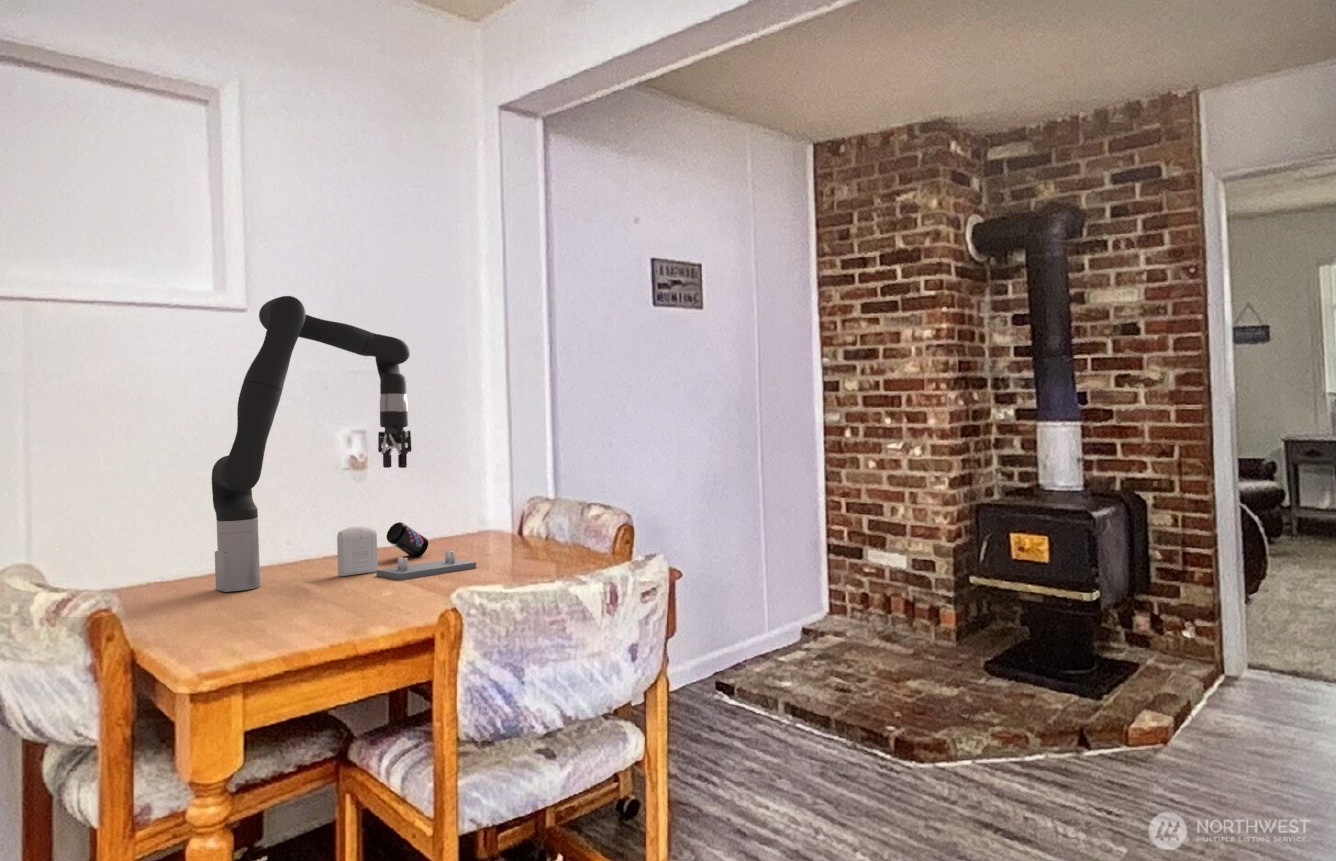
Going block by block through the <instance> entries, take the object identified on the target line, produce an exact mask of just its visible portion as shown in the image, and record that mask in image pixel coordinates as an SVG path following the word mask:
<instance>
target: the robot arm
mask: <svg viewBox="0 0 1336 861" xmlns="http://www.w3.org/2000/svg"><path fill="white" fill-rule="evenodd" d="M258 318H259V322H260V324H261V325H262V326H263V328H264V329H266V332H265V336H264V340H263V343H262V345H261V347H260V349H259V351H258V353H257V354H256V355H255V357H254V359H253V360H252V362H251V364H250V366H249V368H248V370H247V372H246V374H245V376H244V378H243V383H242V385H241V388H240V392H239V395H238V400H237V411H236V412H237V413H236V414H237V426H236V427H237V428H236V433H235V434H236V435H235V438H234V441H233V444H232V446H231V449H230V451H229V453H228V455H225V456H222V457H221V458H219V459H218V460H217V461H216V462H215V463H214V465H213V467H212V470H211V490H212V491H211V493H212V504H213V505H212V506H213V510H214V512H215V516H216V517H215V518H216V540H217V541H216V543H217V545H216V546H217V548H216V549H217V550H216V551H214V571H215V573H214V574H215V590H216V591H219V592H222V593H229V592H239V591H247V590H252V589H257V588H259V587H261V567H260V544H259V542H260V541H259V540H260V539H259V516H258V514H259V512H258V510H259V509H258V507H257V505H256V503H255V502H254V500H253V490H252V489H253V488H254V487H255V486H256V485H257V483H258V482H259V480H260V478H261V475H262V469H263V464H264V456H265V451H266V445H267V441H268V438H269V435H270V431H271V429H272V425H273V422H274V419H275V416H276V412H277V410H278V407H279V404H280V401H281V397H282V393H283V390H284V386H285V382H286V377H287V374H288V371H289V367H290V363H291V359H292V355H293V350H294V349H295V346H296V344H297V341H298V339H299V338H301V339H305V340H310V341H315V342H318V343H323V344H324V345H328V346H331V347H334V348H337V349H340V350H344V351H346V352H348V353H349V352H350V353H352V354H356V355H359V356H363V357H375V364H376V368H377V373H378V375H379V379H380V382H379V387H380V389H379V391H380V393H379V394H380V396H379V425H380V426H379V427H380V428H384V431H378V435H377V436H378V437H377V438H378V440H377V441H378V442H377V444H378V447H377V448H378V453H381V455H382V467H383V468H385V469H386V468H387V469H388V468H391V467H392V452H393V449H396V451H397V453H398V454H397V457H398V458H397V465H398V468H399V469H405V468H407V467H408V466H407V465H408V461H407V459H408V457H407V455H408V454H409V452H410V453H411V452H412V437H411V436H412V435H411V434H412V433H411V430H409V429H408V430H406V429H404V428H407V427H408V425H409V419H408V418H409V416H408V414H409V413H408V412H409V410H408V408H409V407H408V398H407V379H406V378H407V377H406V376H405V375H404V374H403V373H401V370H400V365H401V364H404V363H405V362H407V361H408V360H409V359H410V355H411V350H410V347H409V345H408V344H407V343H406V342H405V341H404V340H402V339H399V338H397V337H393V336H390V335H383V334H380V333H379V334H378V333H375V332H371V331H369V330H366V329H364V328H360V327H357V326H354V325H352V324H347V323H342V322H337V321H333V320H327V319H323V318H322V319H321V318H318V317H315V316H311V315H309V314H306V309H305V306H304V304H303V303H302V302H301V300H300V299H298V298H297V297H295V296H291V295H283V296H279V297H275V298H273V299H271V300H269V301H267V302H264V304H263V305H262V306H261V307H260V309H259V313H258Z"/></svg>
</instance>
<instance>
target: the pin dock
mask: <svg viewBox="0 0 1336 861" xmlns="http://www.w3.org/2000/svg"><path fill="white" fill-rule="evenodd" d="M444 556H445V557H444V558H445V559H443V560H441V559H440V560H436V561H430V562H429V561H428V562H421V563H415V564H409V565H408V557H402V556H401V557H400V556H399V557H397V566H394V567H388V568H380V569H378V570H376V572H375V573H376V577H381V578H387V579H393V580H398V581H402V580H408V579H413V578H414V579H415V578H421V577H426V576H435V575H441V574H447V573H453V572H459V571H465V570H471V569H476V568H477V561H476V562H475V561H472V560H471V561H470V560H461V559H456V552H455V551H452V550H451V551H450V550H445V551H444Z"/></svg>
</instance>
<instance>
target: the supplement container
mask: <svg viewBox="0 0 1336 861" xmlns="http://www.w3.org/2000/svg"><path fill="white" fill-rule="evenodd" d="M386 540H387V542H388V543H389V544H390V545H392V546H394V547H395V548H397V549H399V551H402V552H404V554H406V555H408V556H409V557H411V558H420V557H422V556H423V555H424V554H425V552H426V551H427V549H428V547H429V540H428V539H427V537H425V536H424V535H421V534H420V533H419V532H417V531H416V530H414V529H413V528H411V527H410V526H408V525H407V524H406V523H404V522H396V523H394V524H392V525H391V526H390V527H389V529H388V531H387V532H386Z"/></svg>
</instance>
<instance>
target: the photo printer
mask: <svg viewBox="0 0 1336 861" xmlns="http://www.w3.org/2000/svg"><path fill="white" fill-rule="evenodd" d="M377 534H378V533H377V530H376V529H375V528H373V527H371V526H363V525H362V526H361V525H359V526H351V527H348V528H345V529H343V530H340V531H338V532H337V537H336V541H337V542H336V545H337V546H336V549H337V574H338V576H339V577H347V576H355V575H363V574H369V573H371V574H372V573H376V570H379V569H378V535H377Z"/></svg>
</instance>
